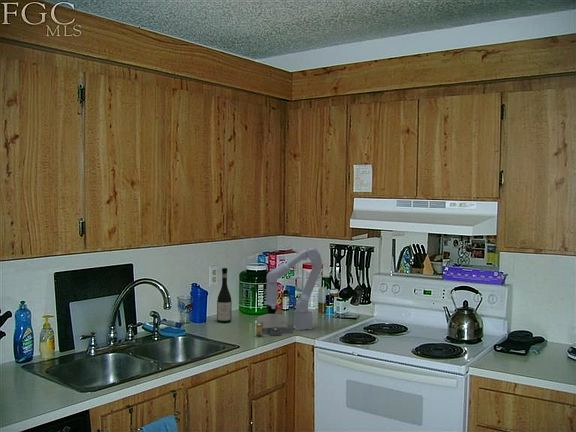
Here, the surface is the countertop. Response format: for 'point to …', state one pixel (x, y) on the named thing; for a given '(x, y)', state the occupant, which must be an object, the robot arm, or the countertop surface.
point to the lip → (277, 330)
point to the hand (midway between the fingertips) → (271, 319)
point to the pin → (259, 329)
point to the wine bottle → (224, 301)
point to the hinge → (272, 320)
